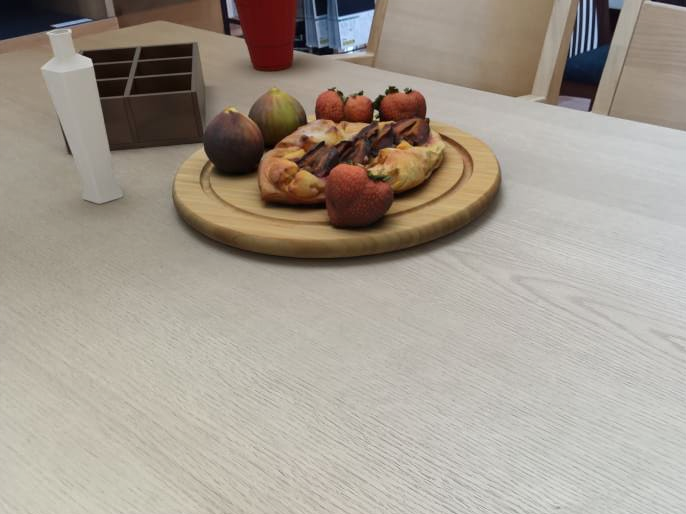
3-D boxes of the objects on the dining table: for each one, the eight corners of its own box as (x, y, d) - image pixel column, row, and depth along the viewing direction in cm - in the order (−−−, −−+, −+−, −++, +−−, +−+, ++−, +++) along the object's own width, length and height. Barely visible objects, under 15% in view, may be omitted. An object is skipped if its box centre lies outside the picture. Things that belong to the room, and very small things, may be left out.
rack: (68, 154, 83) (53, 102, 79) (91, 94, 100) (79, 50, 97) (205, 142, 85) (196, 91, 82) (204, 85, 102) (197, 41, 99)
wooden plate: (510, 269, 61) (519, 171, 56) (127, 264, 63) (102, 169, 58) (492, 131, 86) (497, 54, 81) (219, 131, 88) (207, 56, 83)
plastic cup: (326, 64, 109) (319, -29, 102) (265, 80, 103) (254, -17, 96) (281, 51, 115) (272, -37, 108) (222, 66, 110) (208, -27, 102)
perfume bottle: (116, 181, 77) (75, 22, 67) (134, 195, 74) (94, 30, 65) (72, 194, 74) (23, 31, 65) (90, 208, 72) (41, 40, 62)
